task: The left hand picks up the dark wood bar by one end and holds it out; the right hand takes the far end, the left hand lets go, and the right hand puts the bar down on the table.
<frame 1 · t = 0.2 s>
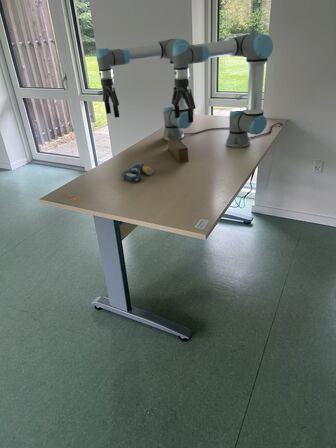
left hand: (112, 115, 206), 28 cm above the table, tool pointing down, fingers open, 13 cm apart
right hand: (183, 120, 182), 28 cm above the table, tool pointing down, fingers open, 13 cm apart
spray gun: (138, 175, 192), on the table
bar: (177, 154, 217), on the table
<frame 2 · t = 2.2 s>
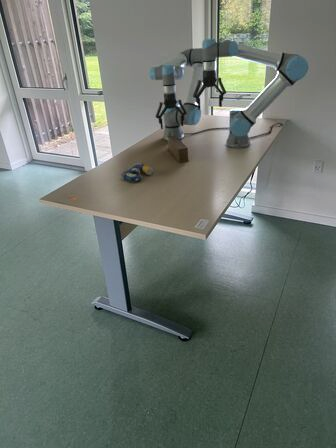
left hand: (172, 127, 217), 15 cm above the table, tool pointing down, fingers open, 13 cm apart
right hand: (209, 108, 202), 28 cm above the table, tool pointing down, fingers open, 13 cm apart
nothing on the table moved.
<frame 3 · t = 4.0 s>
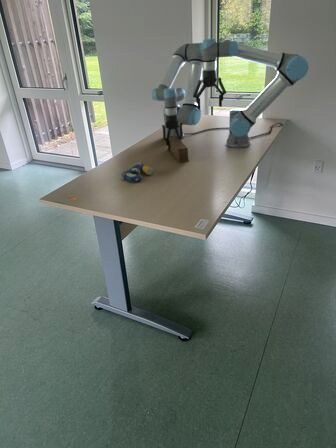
left hand: (173, 149, 225), 1 cm above the table, tool pointing down, fingers closed on bar, 6 cm apart
right hand: (209, 108, 202), 28 cm above the table, tool pointing down, fingers open, 13 cm apart
bar: (177, 154, 217), on the table, touching left hand
everything else where it was.
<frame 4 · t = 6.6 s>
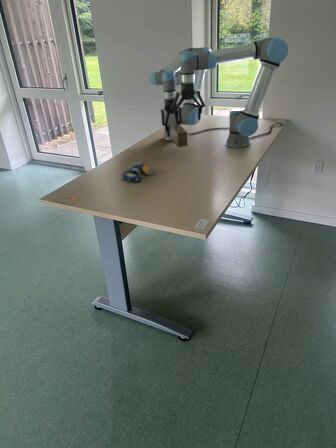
left hand: (172, 134, 220), 10 cm above the table, tool pointing down, fingers closed on bar, 6 cm apart
right hand: (188, 120, 199), 23 cm above the table, tool pointing down, fingers open, 13 cm apart
bar: (176, 140, 212), point 10 cm above the table, touching left hand
everything else where it was.
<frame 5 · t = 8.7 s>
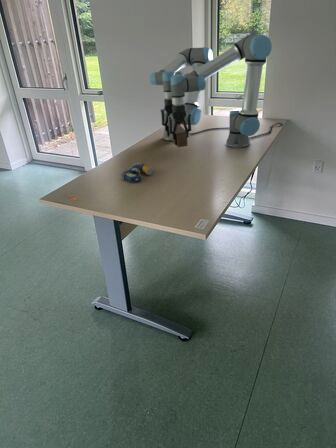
left hand: (172, 134, 220), 10 cm above the table, tool pointing down, fingers closed on bar, 6 cm apart
right hand: (181, 143, 203), 10 cm above the table, tool pointing down, fingers closed on bar, 6 cm apart
bar: (176, 140, 212), point 10 cm above the table, touching left hand, right hand
everything else where it was.
when the left hand's fingers open (10 cm above the table, at t = 9.4 s): bar stays where it is, held by the right hand.
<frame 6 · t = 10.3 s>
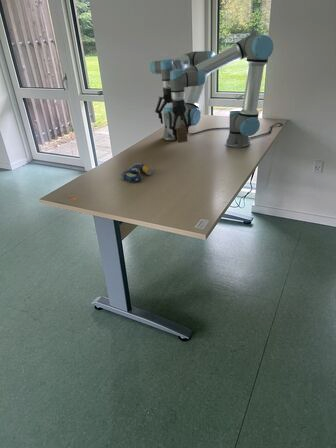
left hand: (171, 121, 218), 18 cm above the table, tool pointing down, fingers open, 13 cm apart
right hand: (180, 139, 202), 13 cm above the table, tool pointing down, fingers closed on bar, 6 cm apart
bar: (176, 135, 211), point 12 cm above the table, touching right hand
everything else where it was.
when the right hand's fingers open (3 cm above the table, at t = 13.5 s): bar drops 2 cm, on the table.
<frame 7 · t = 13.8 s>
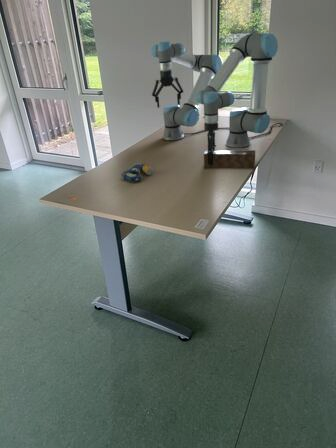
left hand: (168, 105, 216), 28 cm above the table, tool pointing down, fingers open, 13 cm apart
right hand: (211, 161, 194), 3 cm above the table, tool pointing down, fingers open, 9 cm apart
bar: (229, 166, 193), on the table
everything else where it was.
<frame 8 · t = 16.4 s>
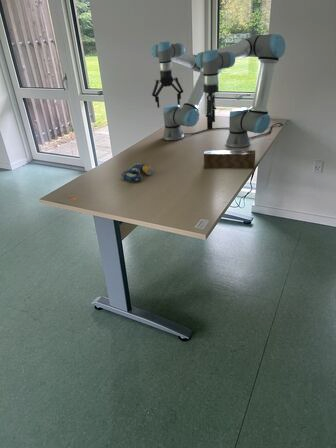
left hand: (168, 105, 216), 28 cm above the table, tool pointing down, fingers open, 13 cm apart
right hand: (211, 125, 183), 24 cm above the table, tool pointing down, fingers open, 13 cm apart
nothing on the table moved.
at the end: bar inside the target area (10.2 cm from its centre), on the table; the left hand is holding nothing; the right hand is holding nothing; bar at rest at the end (0.0 cm/s) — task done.
